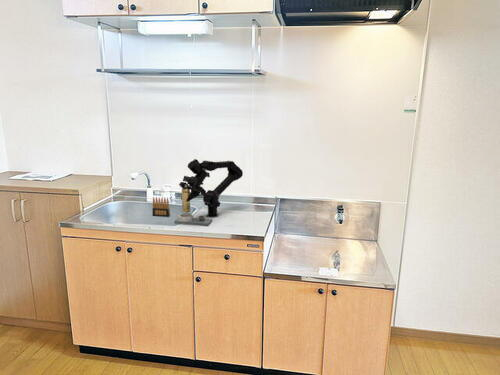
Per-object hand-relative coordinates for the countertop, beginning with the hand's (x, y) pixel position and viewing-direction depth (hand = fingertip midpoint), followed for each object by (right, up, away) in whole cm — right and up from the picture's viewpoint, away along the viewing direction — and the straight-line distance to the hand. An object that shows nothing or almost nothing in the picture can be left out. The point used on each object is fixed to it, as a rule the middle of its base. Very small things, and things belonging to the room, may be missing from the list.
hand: (184, 200), depth 211 cm
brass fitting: (+1, -6, +2) cm, 7 cm away
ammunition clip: (-17, -10, +15) cm, 25 cm away
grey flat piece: (+5, -13, +4) cm, 14 cm away
